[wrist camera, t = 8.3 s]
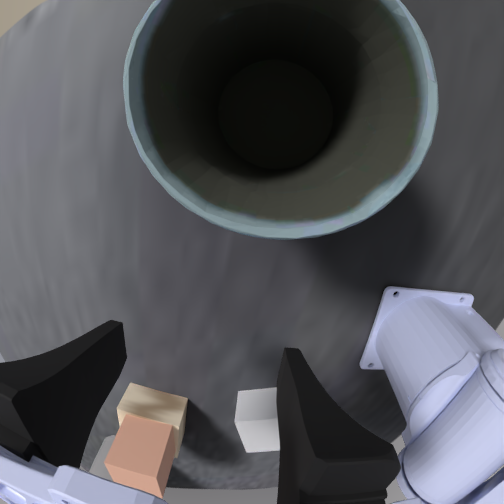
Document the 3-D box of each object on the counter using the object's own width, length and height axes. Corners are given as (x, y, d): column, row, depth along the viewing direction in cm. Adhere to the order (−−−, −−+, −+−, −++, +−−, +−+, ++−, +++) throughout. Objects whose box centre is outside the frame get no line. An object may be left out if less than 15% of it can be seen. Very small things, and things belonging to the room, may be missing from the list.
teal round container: (289, 217, 21) (312, 300, 10) (170, 132, 20) (66, 124, 8) (377, 105, 18) (484, 75, 7) (258, 19, 17) (247, -89, 5)
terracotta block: (172, 424, 24) (156, 477, 18) (175, 450, 25) (162, 498, 20) (126, 414, 24) (103, 462, 18) (133, 440, 25) (115, 485, 20)
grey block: (292, 384, 26) (294, 416, 23) (297, 417, 28) (300, 447, 24) (238, 390, 27) (234, 421, 23) (249, 422, 28) (246, 452, 25)
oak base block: (188, 396, 28) (179, 426, 24) (184, 430, 30) (177, 457, 26) (130, 381, 28) (116, 408, 24) (133, 416, 30) (122, 441, 26)
